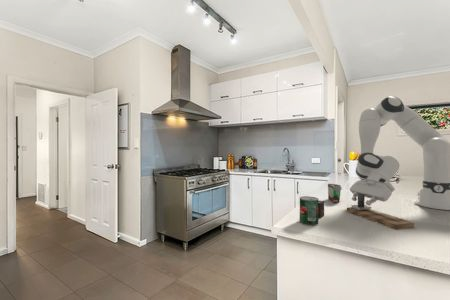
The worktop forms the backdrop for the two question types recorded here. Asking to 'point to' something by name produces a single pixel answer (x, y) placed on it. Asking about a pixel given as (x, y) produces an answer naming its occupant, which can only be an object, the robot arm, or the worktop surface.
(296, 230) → the worktop surface
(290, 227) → the worktop surface
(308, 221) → the canned tomato
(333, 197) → the food container
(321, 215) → the box
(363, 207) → the slider
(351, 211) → the brown wooden board
